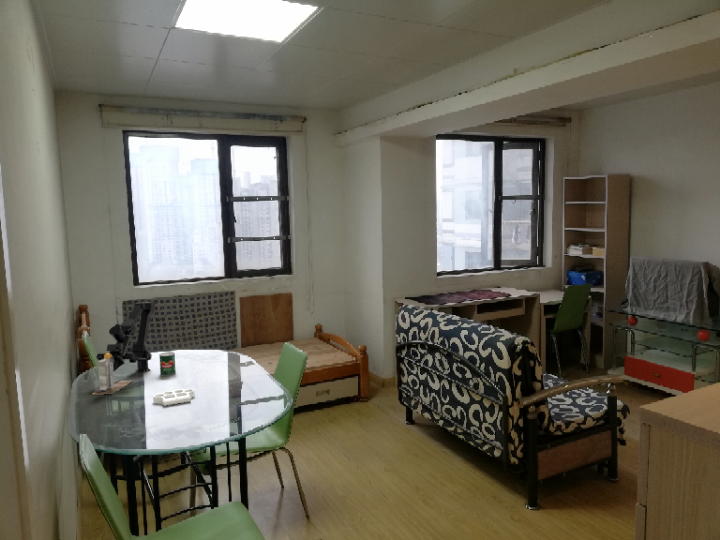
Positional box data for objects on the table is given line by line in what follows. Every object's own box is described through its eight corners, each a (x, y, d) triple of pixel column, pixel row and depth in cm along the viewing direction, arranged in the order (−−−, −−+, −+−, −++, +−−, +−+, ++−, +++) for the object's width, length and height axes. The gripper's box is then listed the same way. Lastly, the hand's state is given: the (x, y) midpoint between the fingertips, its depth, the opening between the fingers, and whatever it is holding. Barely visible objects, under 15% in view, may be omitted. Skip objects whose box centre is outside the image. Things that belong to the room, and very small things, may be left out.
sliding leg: (104, 385, 260) (101, 352, 258) (115, 385, 259) (112, 351, 258) (99, 388, 256) (97, 354, 254) (110, 388, 255) (108, 353, 254)
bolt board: (114, 382, 271) (112, 351, 270) (133, 381, 270) (131, 351, 269) (92, 394, 251) (89, 362, 249) (112, 394, 250) (110, 361, 249)
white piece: (156, 409, 229) (152, 400, 242) (198, 401, 238) (192, 393, 251) (155, 401, 229) (151, 392, 242) (198, 394, 238) (191, 386, 250)
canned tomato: (163, 376, 279) (162, 356, 278) (158, 373, 285) (156, 354, 284) (178, 373, 284) (177, 353, 283) (172, 370, 290) (171, 351, 289)
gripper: (96, 337, 263) (85, 364, 253) (132, 337, 262) (122, 364, 252) (106, 349, 272) (95, 376, 262) (141, 348, 271) (131, 375, 261)
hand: (111, 372), depth 259 cm, fingers closed
